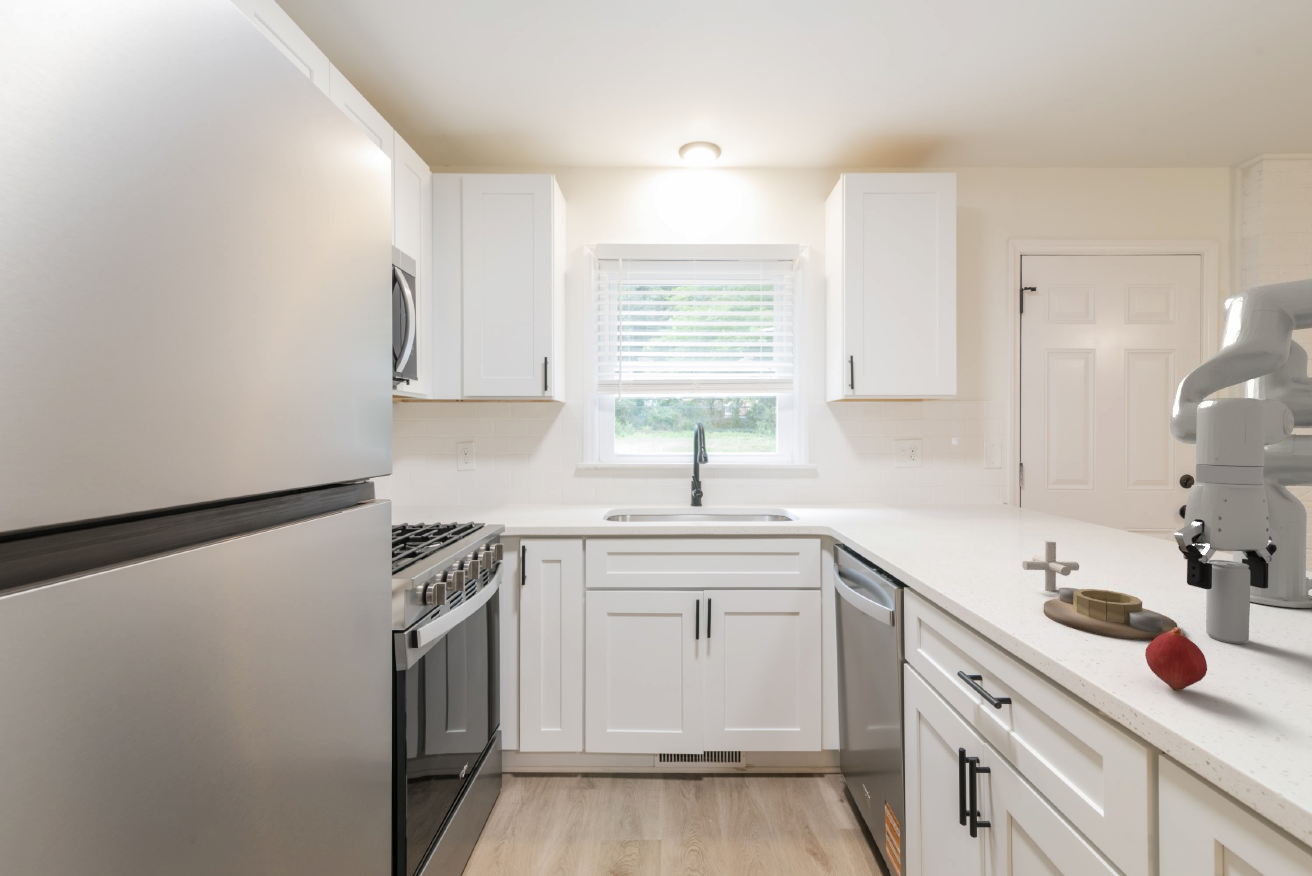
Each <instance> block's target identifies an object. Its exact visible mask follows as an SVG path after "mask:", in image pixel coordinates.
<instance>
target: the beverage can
mask: <svg viewBox="0 0 1312 876" xmlns="http://www.w3.org/2000/svg"><path fill="white" fill-rule="evenodd" d="M1207 563H1211V564H1212V588H1211V589H1206V600H1205V601H1206V602H1205V603H1206V604H1205V605H1206V607H1205V612H1206V613H1205V617H1206V618H1205V632H1206V634H1207V635H1208V637H1210V638H1211V639H1214V640H1215V641H1219V642H1222V643H1227V644H1235V645H1244V644H1246V643H1247V642H1248V641H1249V639H1250V637H1249V636H1250V611H1251V609H1250V608H1251V602H1250V570H1249V569H1248V567H1249V565H1247V564H1244V563H1240V562H1234V561H1233V560H1223V559H1210V560H1209V561H1208V562H1207Z"/></svg>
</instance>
